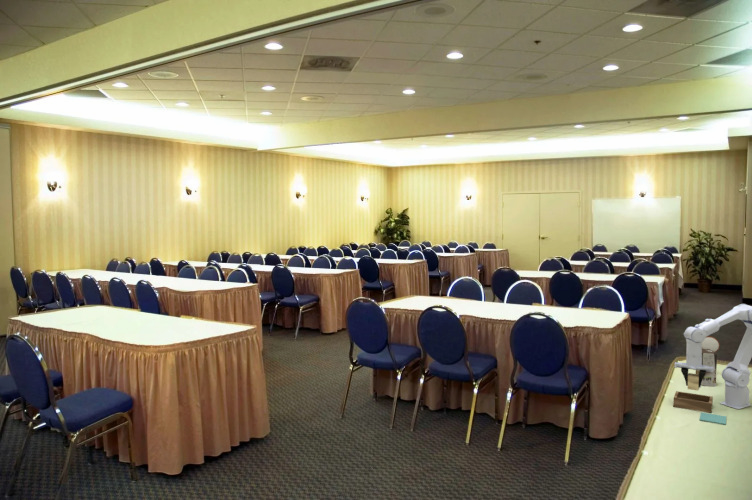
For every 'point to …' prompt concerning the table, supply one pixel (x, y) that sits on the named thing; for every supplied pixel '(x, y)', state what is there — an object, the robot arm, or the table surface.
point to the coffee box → (710, 360)
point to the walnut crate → (693, 401)
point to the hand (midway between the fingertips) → (693, 385)
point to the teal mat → (713, 418)
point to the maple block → (693, 381)
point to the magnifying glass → (711, 344)
